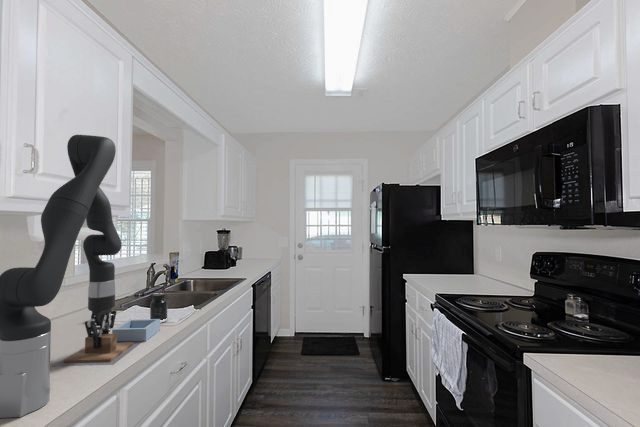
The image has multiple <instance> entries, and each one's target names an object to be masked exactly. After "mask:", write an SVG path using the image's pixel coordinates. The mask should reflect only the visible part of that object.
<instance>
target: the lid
mask: <svg viewBox="0 0 640 427" xmlns="http://www.w3.org/2000/svg"><path fill="white" fill-rule="evenodd" d="M101 337H102V338H101V348H99V349H94V348H93V337H88V336H86V337H85V339H84V347H85V348H84V347H83V348H84V349H82V348H81V349H82V350H81V351H79V350H78V351H79V352H77V351H76V352H77V353H75V352H74V353H75V354H74V355H72V354H71V355H72V356H70V355H69V356H70V357H69V358H67V357H66V358H67V359H65V358H64V359H65V360H64V363H86V362H111V361H112V360H114V359H115V358H116V357H118V356H119V355H120V354H122V353H123V352H124V351H126V350H127V349H128V348H130V347H131V346H132V345H133V343H134V342H117V334H112V333H109V334H102V336H101Z"/></svg>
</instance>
